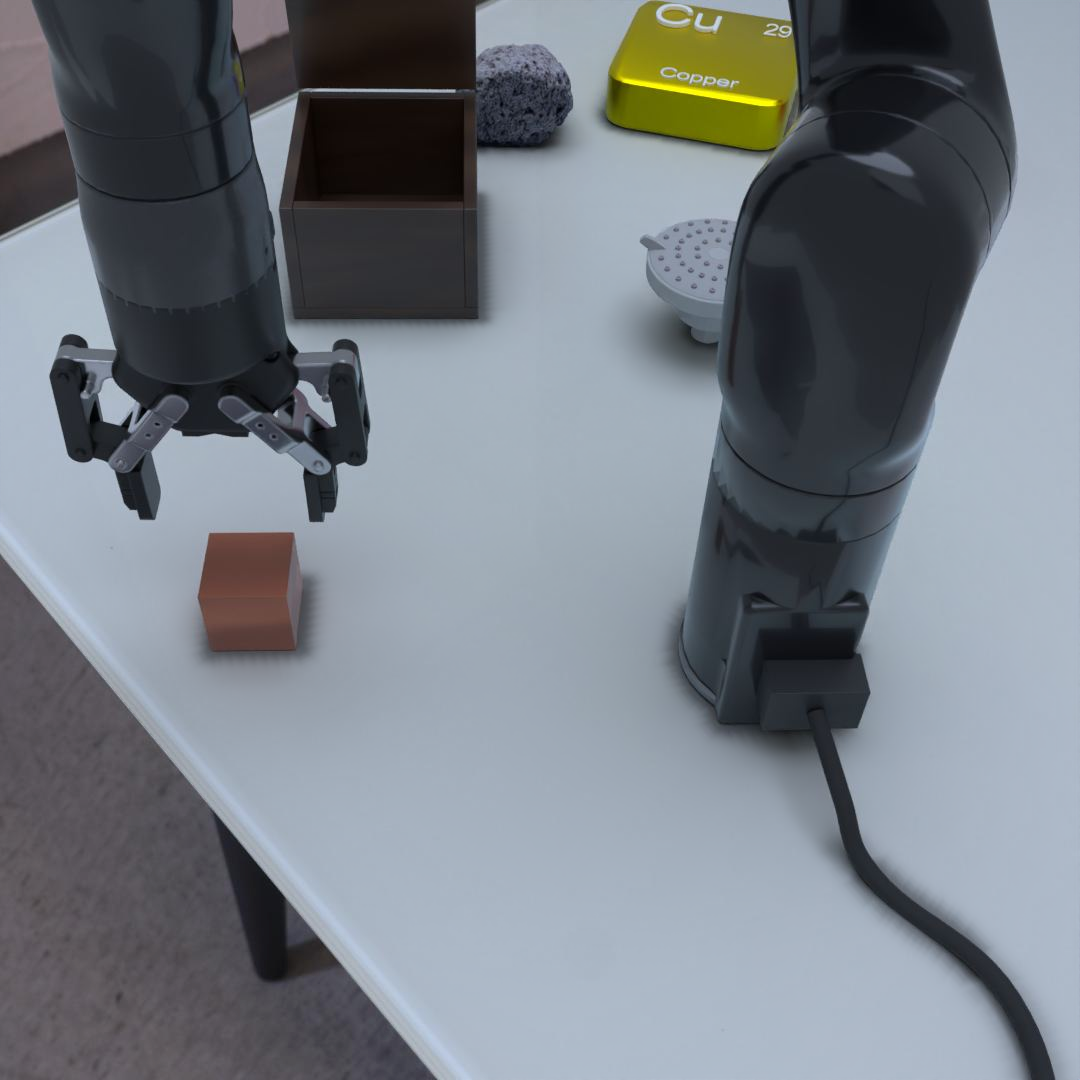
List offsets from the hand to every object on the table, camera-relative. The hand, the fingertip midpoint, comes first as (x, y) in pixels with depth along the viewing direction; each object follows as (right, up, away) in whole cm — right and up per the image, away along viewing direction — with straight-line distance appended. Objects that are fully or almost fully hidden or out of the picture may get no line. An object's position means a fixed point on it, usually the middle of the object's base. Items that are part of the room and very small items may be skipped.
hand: (235, 509), depth 67 cm
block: (0, -6, +6) cm, 8 cm away
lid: (+5, +35, +20) cm, 41 cm away
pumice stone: (+14, +33, +41) cm, 55 cm away
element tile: (+30, +36, +46) cm, 66 cm away
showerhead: (+27, +13, +24) cm, 38 cm away
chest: (+5, +19, +29) cm, 35 cm away
